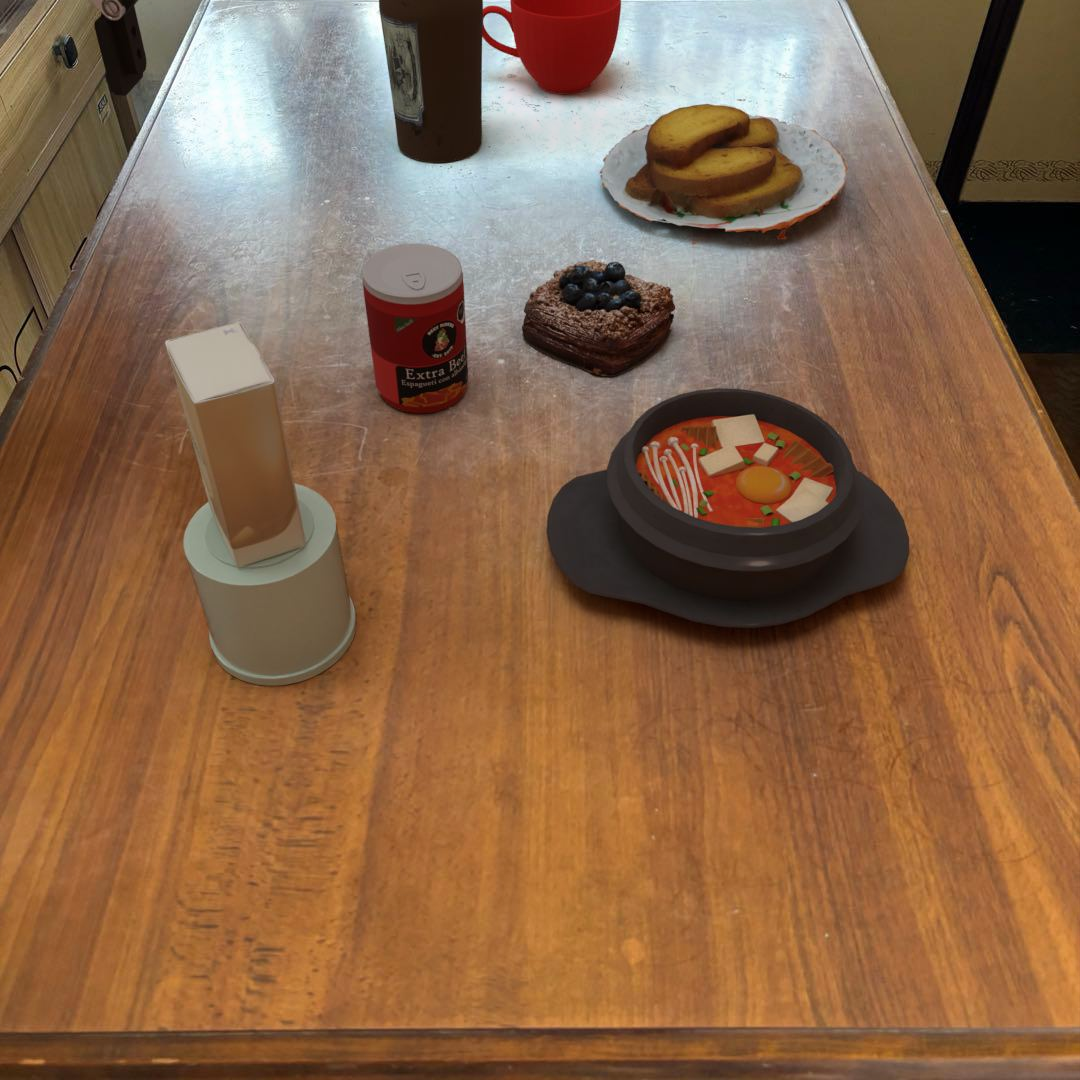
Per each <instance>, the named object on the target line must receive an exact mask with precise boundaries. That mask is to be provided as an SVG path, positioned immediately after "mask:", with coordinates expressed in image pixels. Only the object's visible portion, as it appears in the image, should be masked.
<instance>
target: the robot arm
mask: <svg viewBox="0 0 1080 1080" xmlns="http://www.w3.org/2000/svg"><path fill="white" fill-rule="evenodd" d="M88 1H89V2H90V3H91V4H92V5H93V6H94V7H95V8H96V9H97V10H98V11H99V12H100V16H99V17H98V18H97V19H95V21H94V25H93V26H94V32H95V34H96V35H95V36H96V39H97V43H98V46H99V51H100V54H101V55H100V56H101V58H102V63H103V66H104V70H105V74H106V78H107V82H108V86H109V90H110V92H111V93H113V94H114V95H115V96H122V97H126V96H127V95H128V94H129V93H130V92H131V91H132V90H133V89H134V88H135V86H136V85H137V84H138V83H139V82H140V81H141V80H142V79H143V78H144V73H145V71H146V69H147V56H146V55H147V54H146V51H145V47H144V42H143V38H142V32H141V28H140V25H139V20H138V17H137V12H136V6H135V5H136V4H137V3H138V2H139V1H140V0H88Z"/></svg>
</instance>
